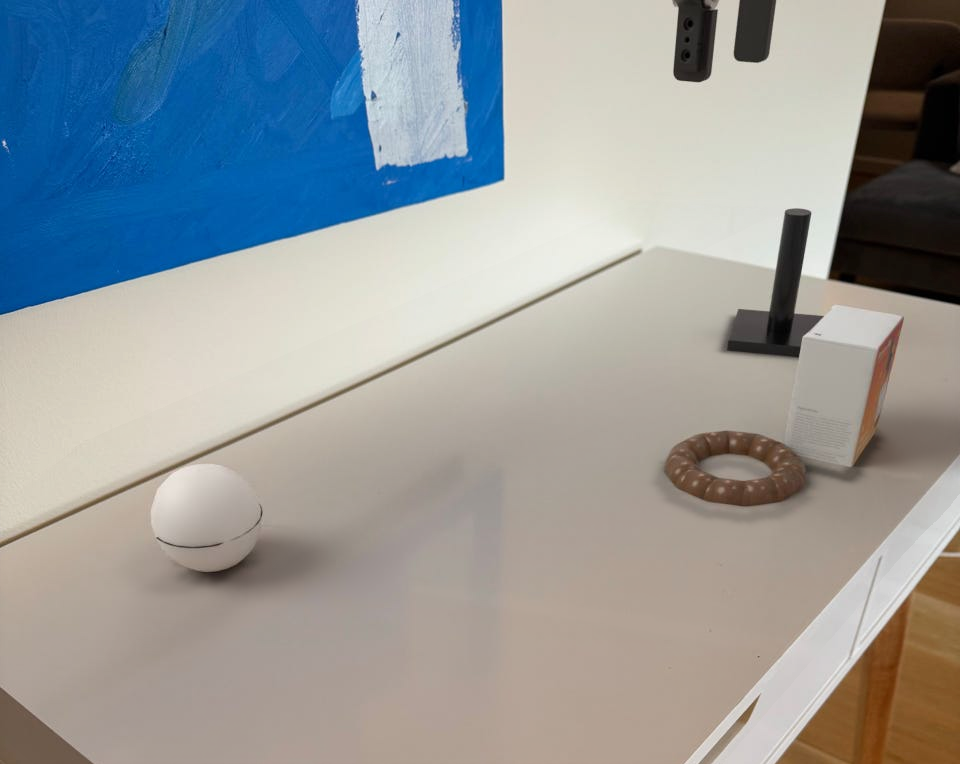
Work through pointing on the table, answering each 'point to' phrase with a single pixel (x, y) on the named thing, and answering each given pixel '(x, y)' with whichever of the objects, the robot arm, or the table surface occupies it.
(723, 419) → the table surface
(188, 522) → the seamed sphere
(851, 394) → the small box
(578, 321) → the table surface
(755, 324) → the stand
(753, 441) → the brown ribbed ring
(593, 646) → the table surface
